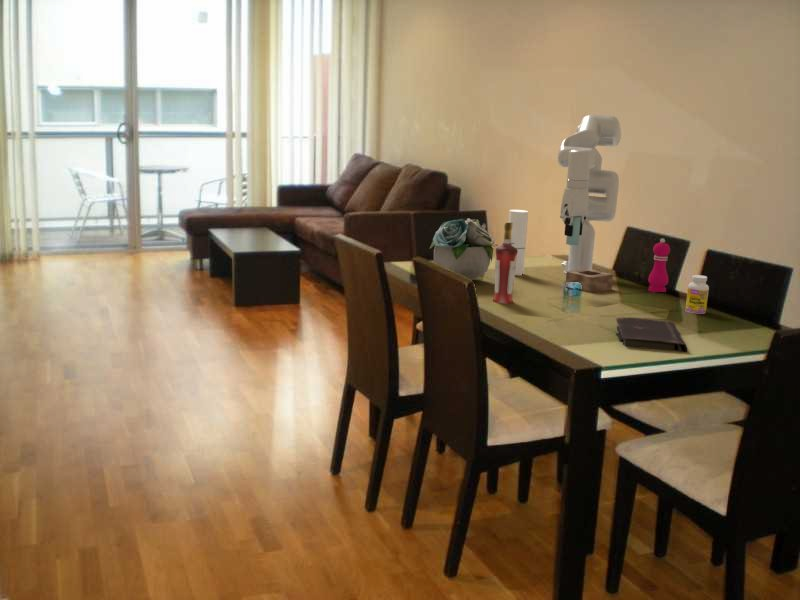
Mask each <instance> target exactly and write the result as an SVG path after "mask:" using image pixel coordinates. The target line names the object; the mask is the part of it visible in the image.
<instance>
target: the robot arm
mask: <svg viewBox="0 0 800 600" xmlns="http://www.w3.org/2000/svg"><path fill="white" fill-rule="evenodd" d="M621 136H622V130H621V124H620V121H619V118H618V117H616V116H614V115H611V114H587V115H585V116H584V117H582V118H581V121H580V124H579V125H578V126H576V129H575V133H573V134H571V135H568V136H567V137H566V138H564V139H563V141H562V142H561V144H560V147H559V149H558V153H557V163H558V165H559V166H560V167H562V168H567V174H566V177H567V178H566V188H564V191H563V194H562V199H561V205H560V216H559V217H560V219H561V220H562V221H563V224H564V236H566V237H567V236H570V237H571V236H572V233H573V225H572V222H573V218H574V217H579V216H580V217H581V221H580V233H579V244H578V245H569V247H568V248H569V249H568V259H567V260H568V261H567V260H563V262H561V267H565V269H563V274H565V275H566V273H567V272H568V271H575V270H582V269H591V270H593V260H594V259H593V258H594V250H595V249H594V248H595V239H596V238H595V237H596V231H595V228H594V225H592V224H591V222H592V221H593V222H595V221H596V222H612V221H613V220H614V219H615V217H616V213H617V212H616V211H617V204H618V196H619V185H620V179H619V175H618V173H617V172H616V171H613V170H607V169H606V170H604V169H602V164H603V156H602V155H601V153H600V152H599V151H598V148H596V147H597V146H599V147H617V146H618V145H619V143H620V142H621V138H622V137H621ZM589 194H593V195H589ZM596 195H603V196H596ZM568 218H570V220H569V219H568Z"/></svg>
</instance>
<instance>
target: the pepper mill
mask: <svg viewBox="0 0 800 600" xmlns="http://www.w3.org/2000/svg"><path fill="white" fill-rule="evenodd" d="M665 239H666V238H664V237H663V238H660V240H659V242H657V243H655V244H654V246H653V247H652V248H653V249H652V250H653V253H654V255H653V260H654V264H653V267H652V270H651V271H650V273H649V275H648V279H647V282H648V283H649V286H648V292H650V291H651V292H650V293H655V292H665V293H666V292H667V287H666V286H667V285H668V283H669V276H668V272H667V268H666V265H667V261H668V255H669V254H670V252H671V248H670V245H669V244H668V243H666V240H665Z"/></svg>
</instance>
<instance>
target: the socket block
mask: <svg viewBox="0 0 800 600" xmlns="http://www.w3.org/2000/svg"><path fill="white" fill-rule="evenodd" d="M565 275H566V276H565V283H566V282H579V283H581V285H582V290H581V291H584V292H588V293H596V292H603V291H611V290H612V288H613V282H614V281H613V280H614V278H613V277H614V274H613V273H609V272H603V271H600V270H595V269H592V270H591V269H582V270H575V271H568V272H567V273H566V274H565Z"/></svg>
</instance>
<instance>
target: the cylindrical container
mask: <svg viewBox="0 0 800 600" xmlns="http://www.w3.org/2000/svg"><path fill="white" fill-rule="evenodd" d="M508 215H509V217H508V222H513V224H512V230H511V246H513V247H515V248H516V249H517V250H518V252H517V261H516V269H515V276H523V275H524V273H525V271H524V270H525V257H526V247H527V246H526V245H527V231H528V221H529V220H528V218H529V211H528V210H524V209H509V214H508ZM522 274H523V275H522Z"/></svg>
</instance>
